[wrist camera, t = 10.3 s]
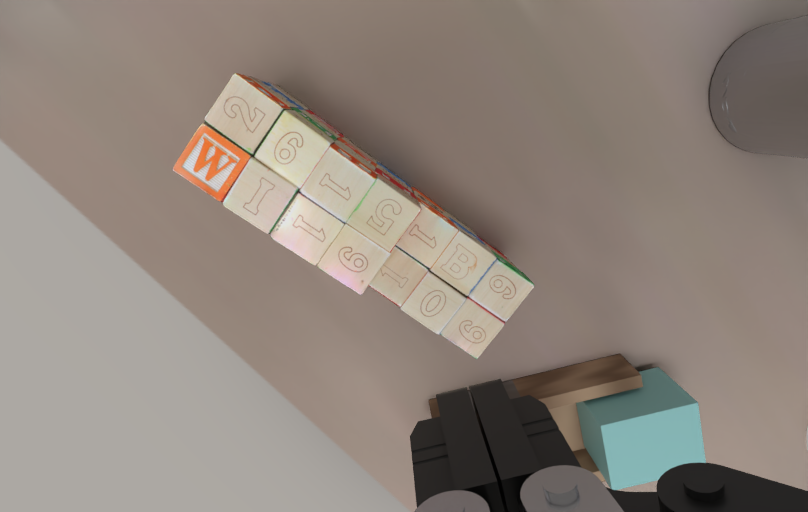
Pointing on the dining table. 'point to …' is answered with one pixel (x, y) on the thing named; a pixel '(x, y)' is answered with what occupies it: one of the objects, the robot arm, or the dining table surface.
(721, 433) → the dining table surface
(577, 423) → the wooden rail tray
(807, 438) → the panda figurine
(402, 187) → the stack of blocks
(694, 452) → the block
